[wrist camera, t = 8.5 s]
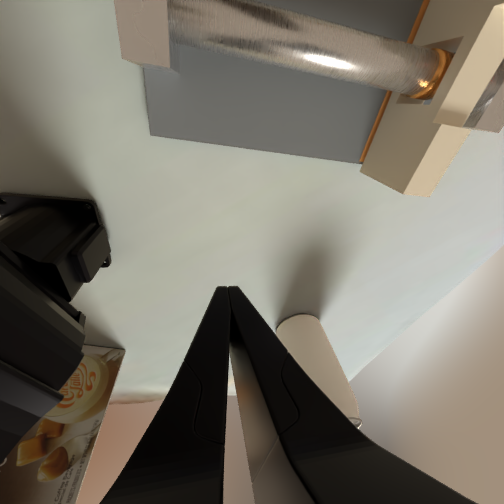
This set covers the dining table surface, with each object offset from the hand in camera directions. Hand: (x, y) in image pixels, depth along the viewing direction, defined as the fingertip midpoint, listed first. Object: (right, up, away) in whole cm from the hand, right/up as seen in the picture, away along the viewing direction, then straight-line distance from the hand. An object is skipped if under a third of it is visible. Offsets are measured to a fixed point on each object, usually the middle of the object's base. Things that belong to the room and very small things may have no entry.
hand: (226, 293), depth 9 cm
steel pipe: (+6, +14, +6) cm, 16 cm away
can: (+7, -9, +23) cm, 25 cm away
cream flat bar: (+12, +13, +6) cm, 18 cm away
